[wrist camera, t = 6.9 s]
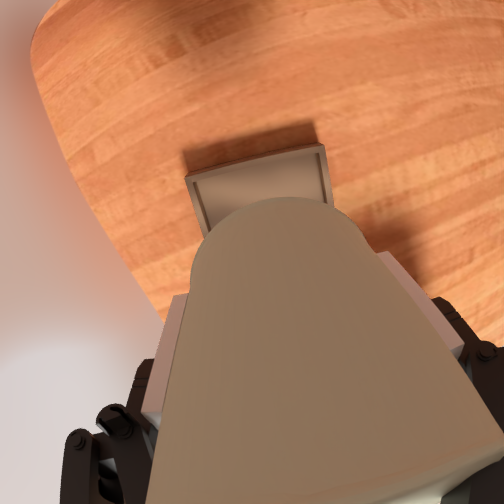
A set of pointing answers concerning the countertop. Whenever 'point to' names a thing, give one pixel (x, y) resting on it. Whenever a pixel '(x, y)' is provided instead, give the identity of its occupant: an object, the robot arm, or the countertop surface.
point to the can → (311, 375)
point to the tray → (259, 182)
